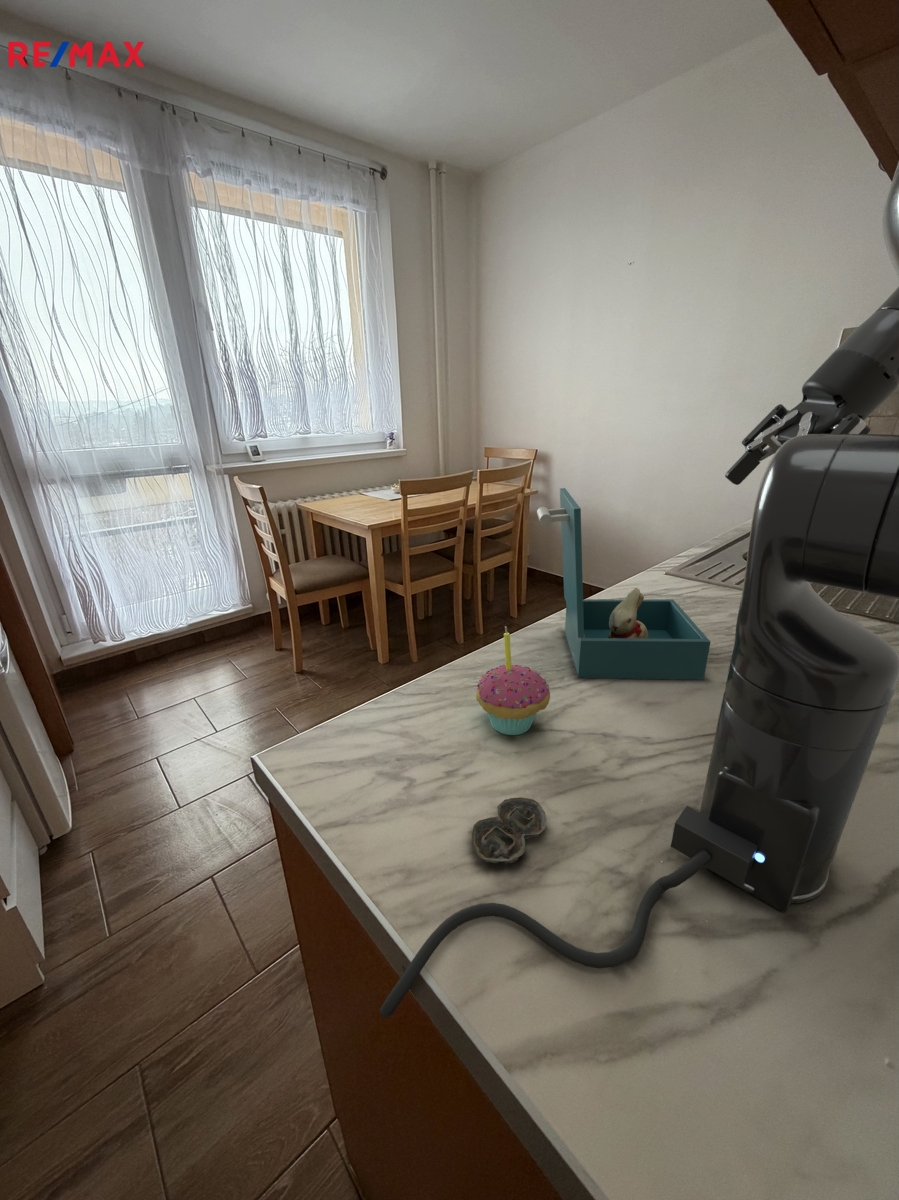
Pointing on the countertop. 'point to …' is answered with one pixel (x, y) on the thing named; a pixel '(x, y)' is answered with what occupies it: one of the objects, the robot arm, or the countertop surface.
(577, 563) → the chest lid
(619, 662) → the chest
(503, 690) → the cupcake
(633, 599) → the chocolate bunny
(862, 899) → the countertop surface
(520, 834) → the corroded twin loop
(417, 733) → the countertop surface
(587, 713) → the countertop surface
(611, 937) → the countertop surface
